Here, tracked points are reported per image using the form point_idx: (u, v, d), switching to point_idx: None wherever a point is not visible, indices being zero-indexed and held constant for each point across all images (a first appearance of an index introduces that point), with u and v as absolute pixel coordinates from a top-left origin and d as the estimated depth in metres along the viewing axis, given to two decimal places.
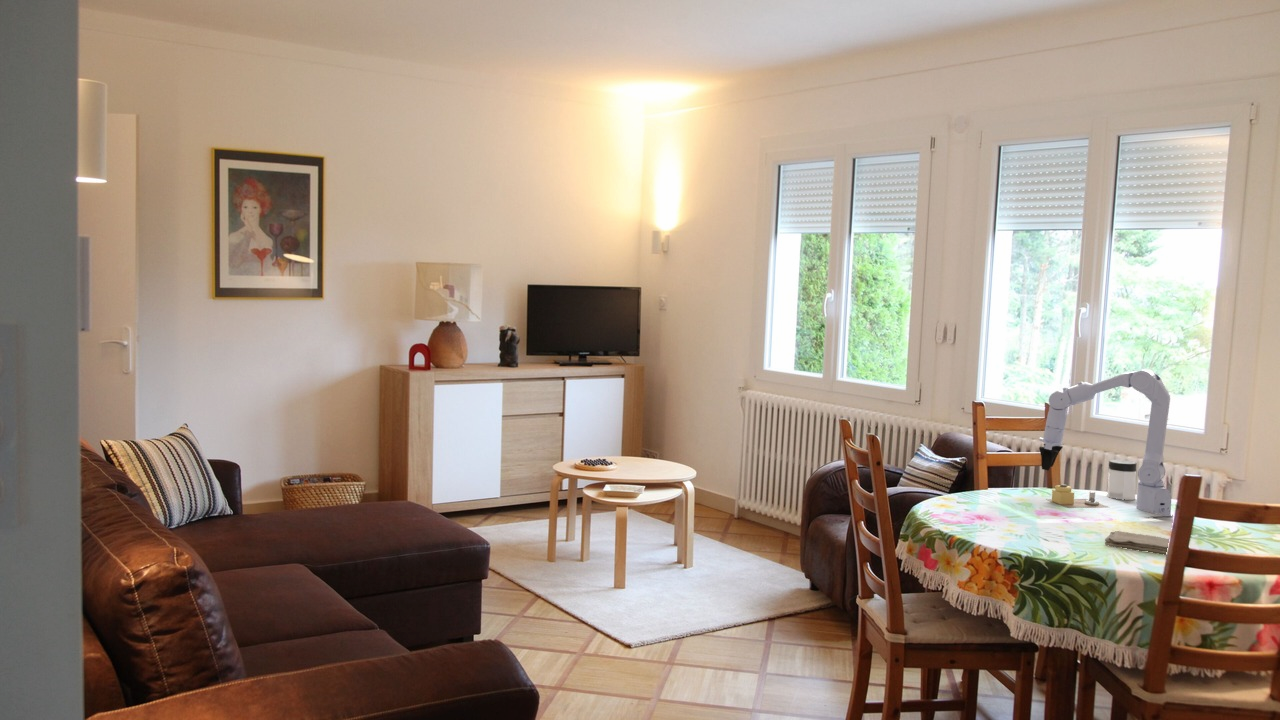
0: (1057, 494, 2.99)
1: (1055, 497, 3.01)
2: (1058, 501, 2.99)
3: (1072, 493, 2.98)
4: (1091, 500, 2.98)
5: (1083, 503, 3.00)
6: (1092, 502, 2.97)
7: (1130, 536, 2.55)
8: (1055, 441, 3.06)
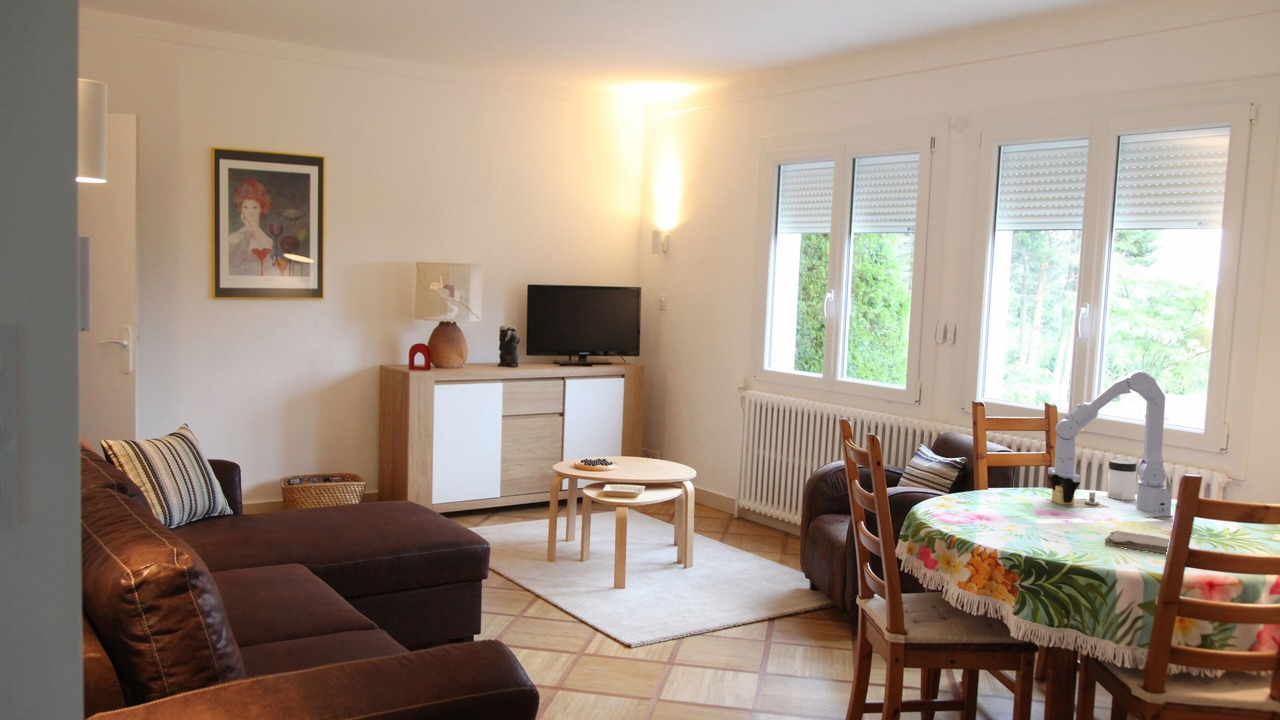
0: (1057, 494, 2.99)
1: (1055, 497, 3.01)
2: (1058, 501, 2.99)
3: None
4: (1091, 500, 2.98)
5: (1083, 503, 3.00)
6: (1092, 502, 2.97)
7: (1130, 536, 2.55)
8: (1072, 472, 2.98)
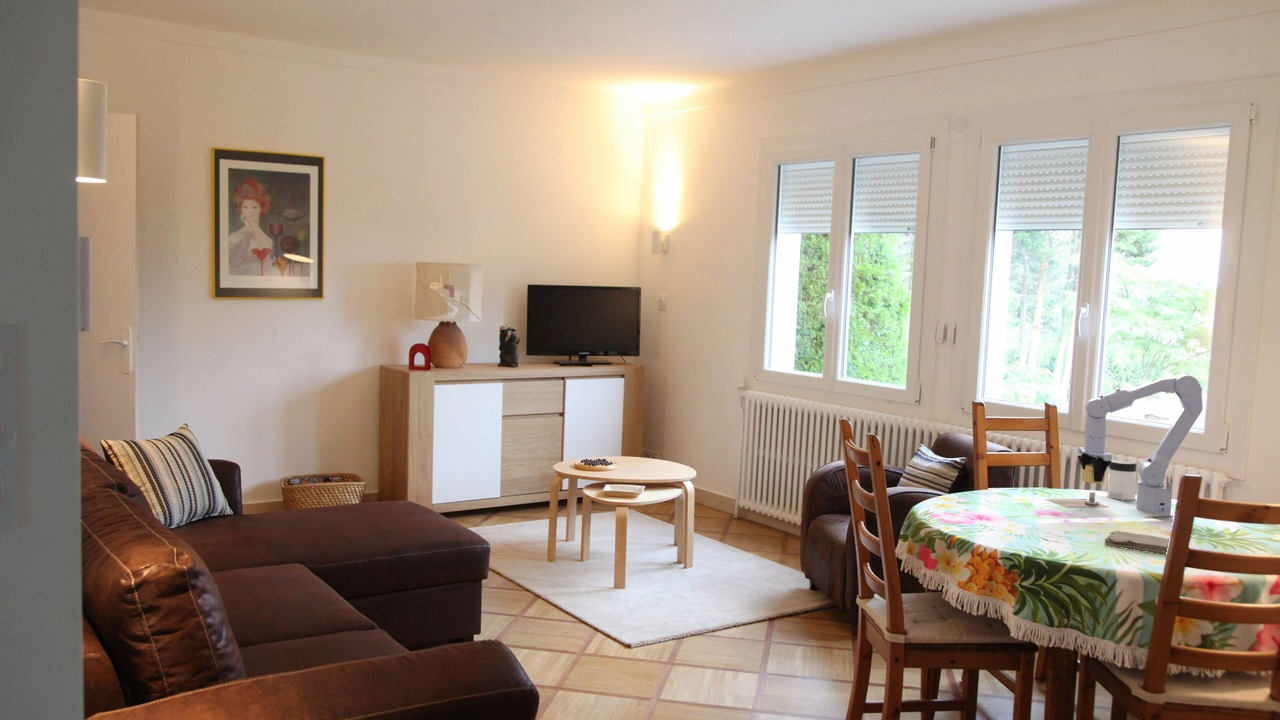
0: (1087, 473, 2.97)
1: (1085, 476, 2.98)
2: (1088, 480, 2.97)
3: None
4: (1091, 500, 2.98)
5: (1083, 503, 3.00)
6: (1092, 502, 2.97)
7: (1130, 536, 2.55)
8: (1103, 451, 2.95)
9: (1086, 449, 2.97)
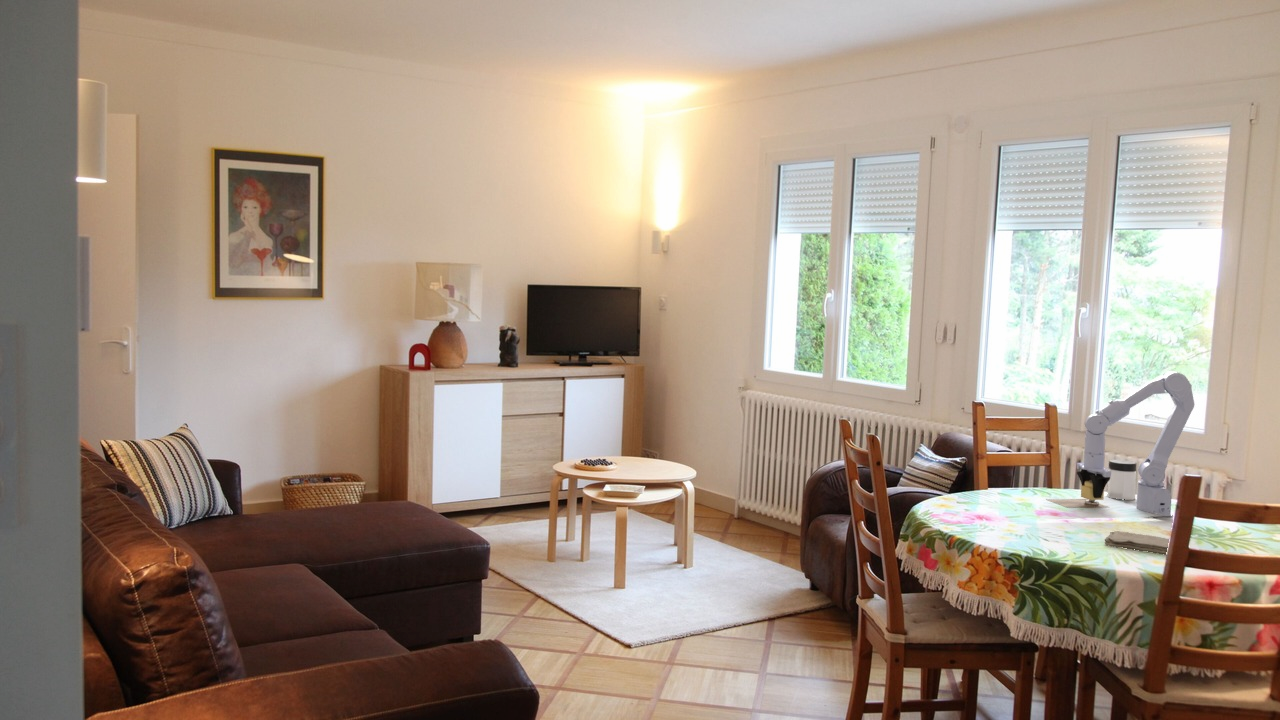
0: (1086, 490, 2.97)
1: (1084, 493, 2.99)
2: (1088, 497, 2.97)
3: None
4: (1091, 500, 2.98)
5: (1083, 503, 3.00)
6: (1092, 502, 2.97)
7: (1130, 536, 2.55)
8: (1102, 467, 2.96)
9: (1085, 465, 2.97)
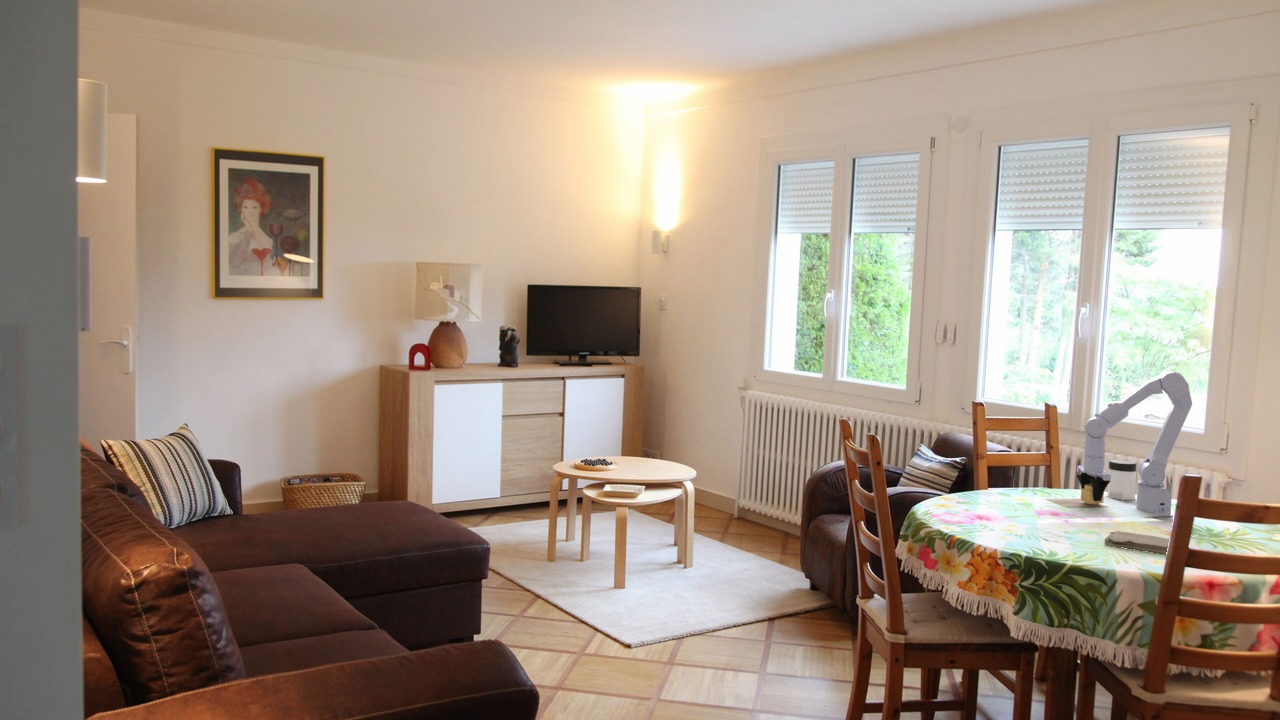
0: (1086, 493, 2.98)
1: (1084, 496, 2.99)
2: (1087, 500, 2.97)
3: None
4: None
5: (1083, 503, 3.00)
6: None
7: (1130, 536, 2.55)
8: (1102, 470, 2.96)
9: (1085, 468, 2.97)
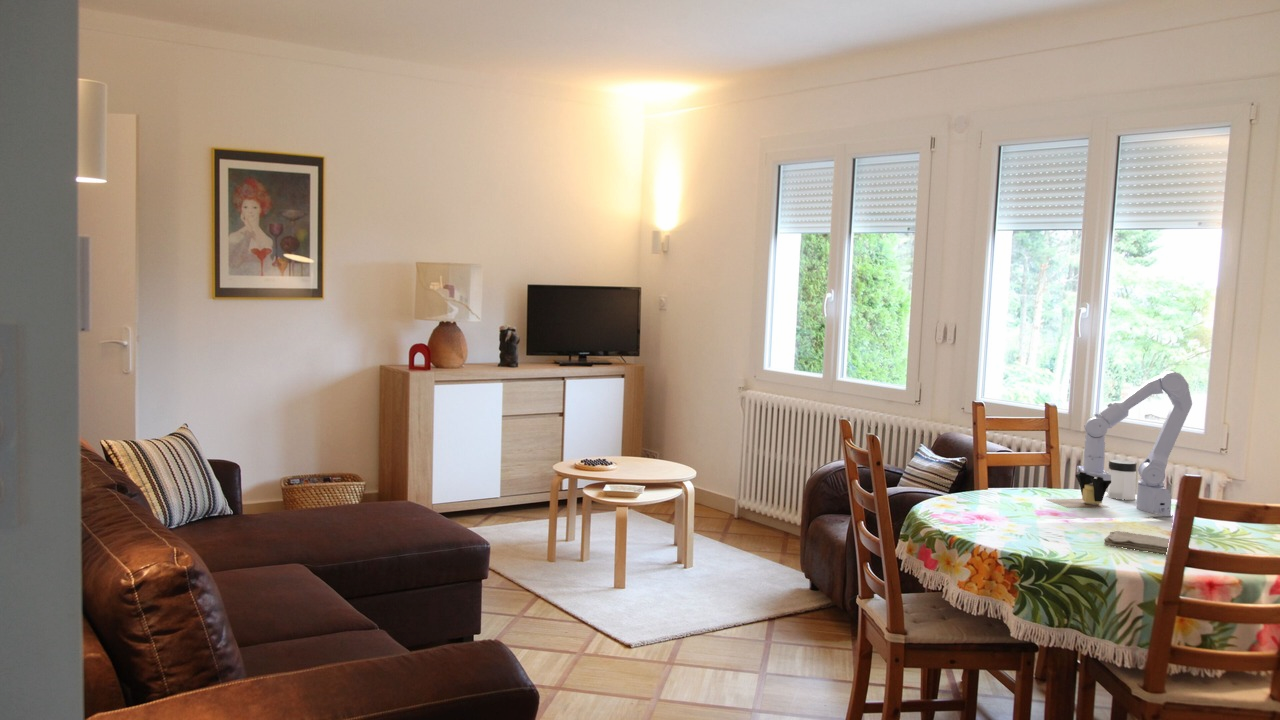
0: None
1: (1092, 498, 2.96)
2: None
3: None
4: None
5: (1083, 503, 3.00)
6: None
7: (1130, 536, 2.55)
8: (1102, 470, 2.96)
9: (1085, 468, 2.97)
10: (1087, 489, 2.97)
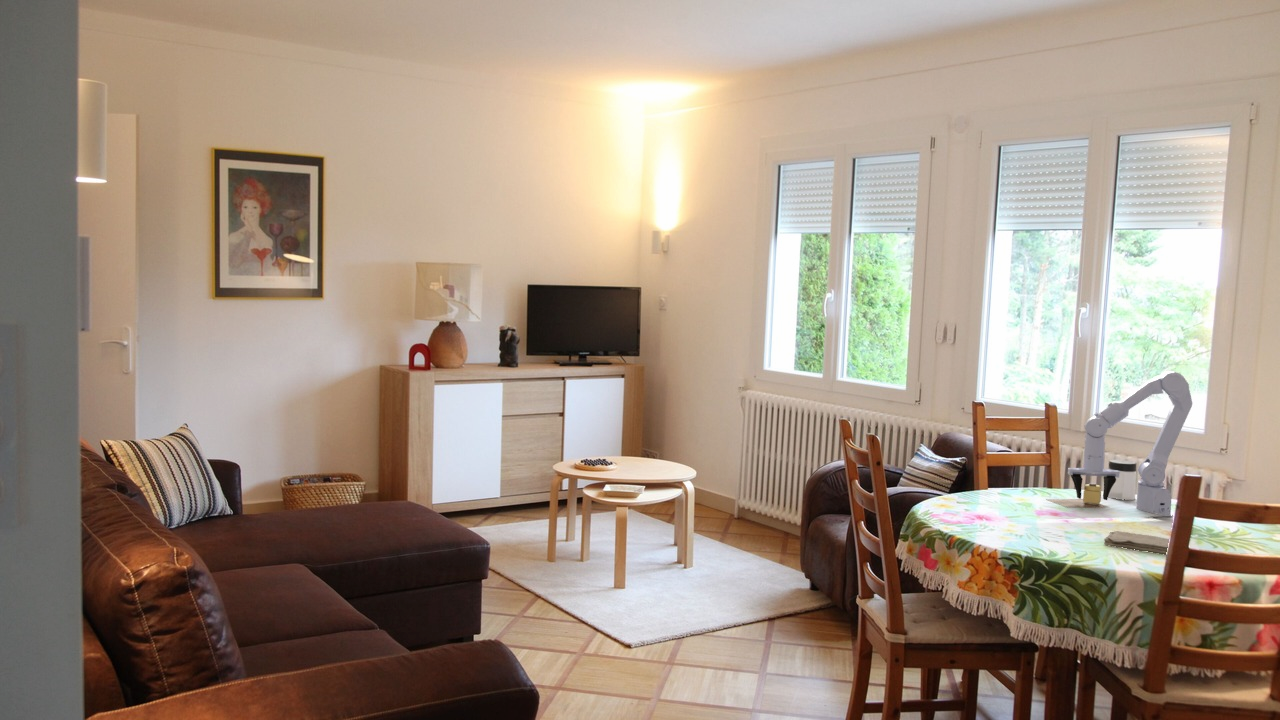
0: (1100, 493, 2.98)
1: (1100, 498, 2.97)
2: (1100, 499, 2.99)
3: None
4: None
5: (1083, 503, 3.00)
6: None
7: (1129, 536, 2.55)
8: None
9: (1096, 469, 2.95)
10: (1096, 490, 2.96)
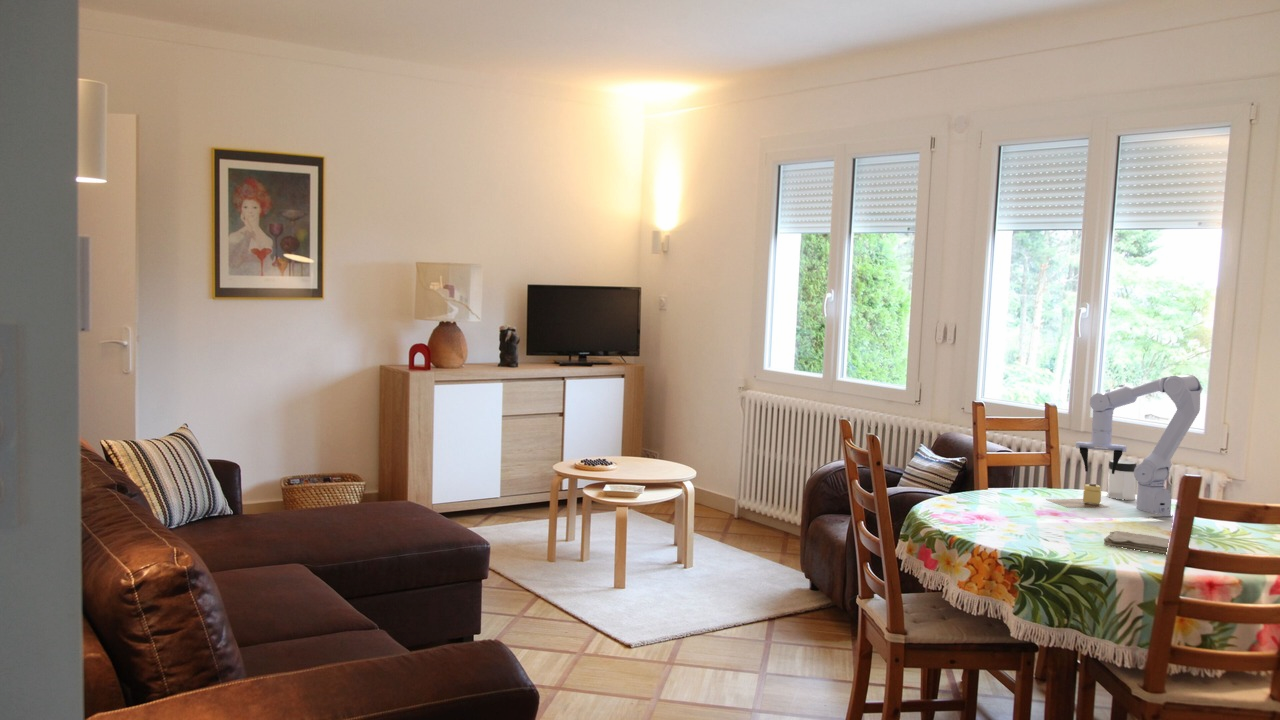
0: (1100, 493, 2.98)
1: (1100, 498, 2.97)
2: (1100, 499, 2.99)
3: None
4: None
5: (1083, 503, 3.00)
6: None
7: (1129, 536, 2.55)
8: None
9: (1101, 443, 3.03)
10: (1096, 490, 2.96)
